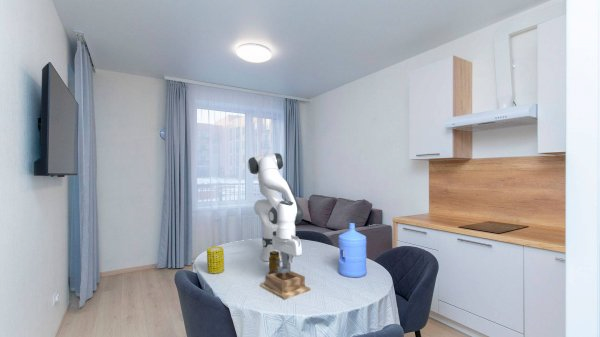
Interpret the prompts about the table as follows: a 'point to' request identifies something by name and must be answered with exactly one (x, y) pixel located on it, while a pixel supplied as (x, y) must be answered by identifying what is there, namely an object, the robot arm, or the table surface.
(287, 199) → the robot arm
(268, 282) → the box
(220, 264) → the food
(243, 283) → the table surface
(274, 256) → the condiment
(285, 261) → the bracket
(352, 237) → the water jug
